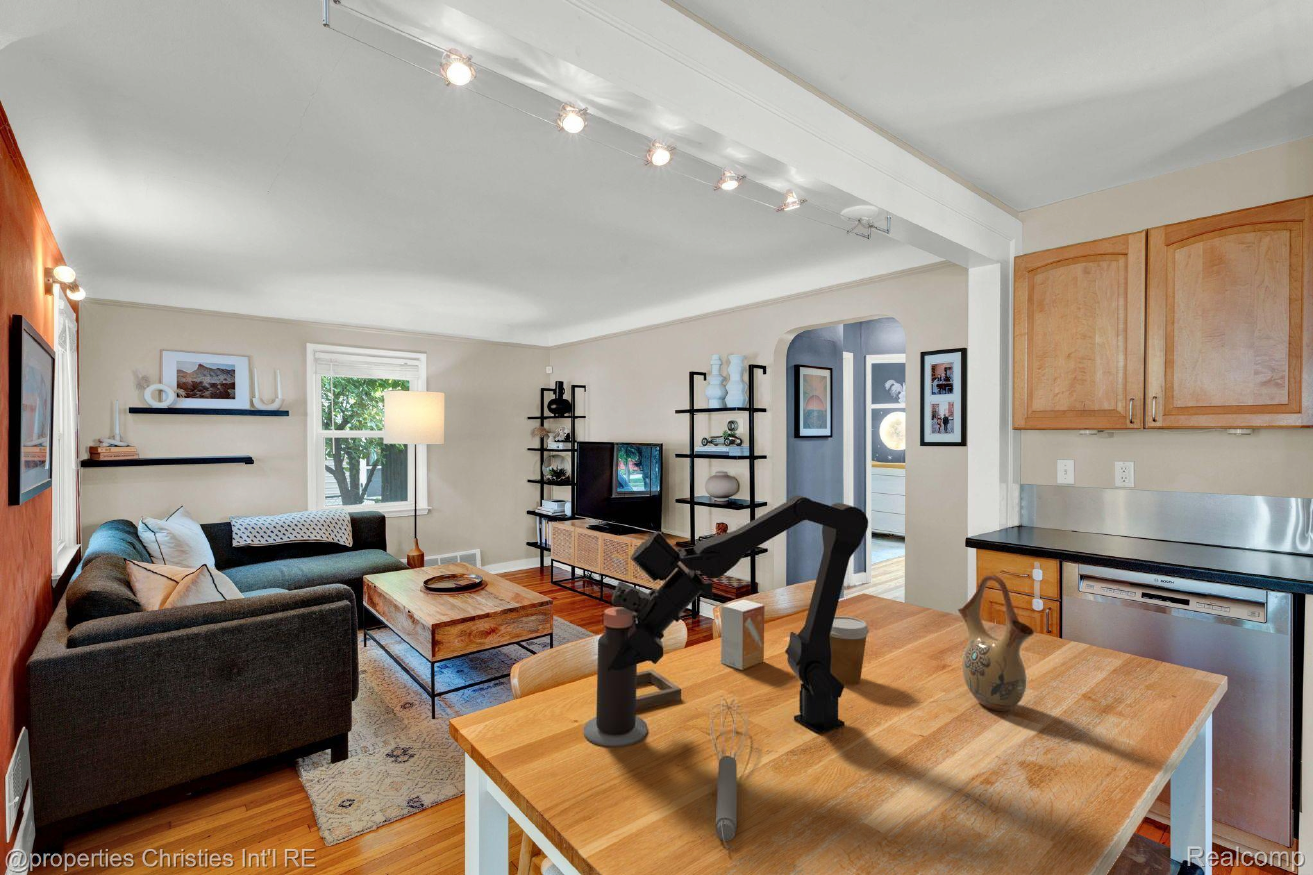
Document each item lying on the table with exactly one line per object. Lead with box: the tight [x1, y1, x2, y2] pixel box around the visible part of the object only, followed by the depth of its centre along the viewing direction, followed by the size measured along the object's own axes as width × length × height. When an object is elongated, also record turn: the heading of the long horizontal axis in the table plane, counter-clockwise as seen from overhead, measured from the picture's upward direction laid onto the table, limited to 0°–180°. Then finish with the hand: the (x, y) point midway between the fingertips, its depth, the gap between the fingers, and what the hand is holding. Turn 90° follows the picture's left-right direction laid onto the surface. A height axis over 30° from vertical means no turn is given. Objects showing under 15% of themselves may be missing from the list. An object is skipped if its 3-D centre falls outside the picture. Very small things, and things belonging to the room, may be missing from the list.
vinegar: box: [595, 606, 638, 735], centre depth 107 cm, size 7×7×20 cm
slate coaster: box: [583, 715, 648, 748], centre depth 108 cm, size 11×11×1 cm
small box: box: [720, 599, 766, 671], centre depth 140 cm, size 8×6×13 cm
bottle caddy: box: [636, 668, 682, 711], centre depth 123 cm, size 11×11×2 cm
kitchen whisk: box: [709, 698, 748, 849], centre depth 93 cm, size 6×34×6 cm, turn 173°
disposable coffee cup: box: [830, 615, 870, 686], centre depth 131 cm, size 10×10×12 cm
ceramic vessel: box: [957, 574, 1035, 712], centre depth 118 cm, size 16×9×25 cm, turn 17°
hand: (608, 664), depth 108 cm, fingers closed on vinegar, 6 cm apart
